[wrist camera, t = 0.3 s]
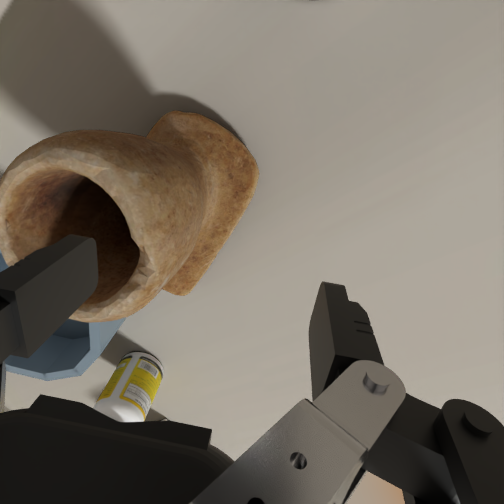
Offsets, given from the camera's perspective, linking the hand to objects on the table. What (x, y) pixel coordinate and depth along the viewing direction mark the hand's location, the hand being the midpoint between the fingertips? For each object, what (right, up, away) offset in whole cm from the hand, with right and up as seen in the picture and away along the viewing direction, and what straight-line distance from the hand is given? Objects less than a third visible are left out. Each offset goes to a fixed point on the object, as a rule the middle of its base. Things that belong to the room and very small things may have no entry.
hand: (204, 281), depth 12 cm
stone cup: (-5, +6, +18) cm, 20 cm away
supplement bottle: (-12, -13, +29) cm, 34 cm away
